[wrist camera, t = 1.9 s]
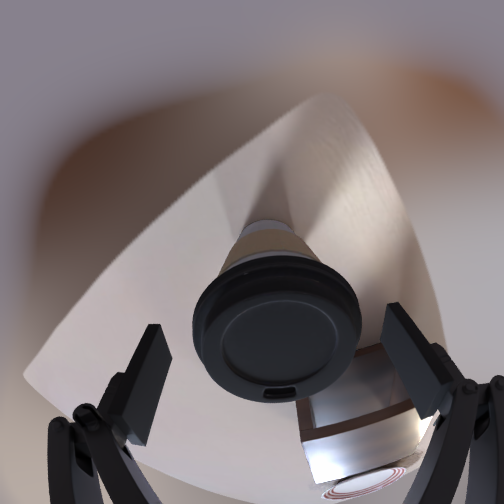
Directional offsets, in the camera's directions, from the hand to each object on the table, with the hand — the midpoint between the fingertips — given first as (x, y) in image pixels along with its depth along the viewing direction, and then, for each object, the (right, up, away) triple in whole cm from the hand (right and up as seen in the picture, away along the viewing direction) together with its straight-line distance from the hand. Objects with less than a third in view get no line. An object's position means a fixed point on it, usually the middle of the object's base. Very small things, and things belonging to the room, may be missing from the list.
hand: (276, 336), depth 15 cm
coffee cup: (0, +5, +12) cm, 13 cm away
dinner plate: (+33, -66, +42) cm, 85 cm away
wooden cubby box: (+14, -16, +21) cm, 30 cm away
